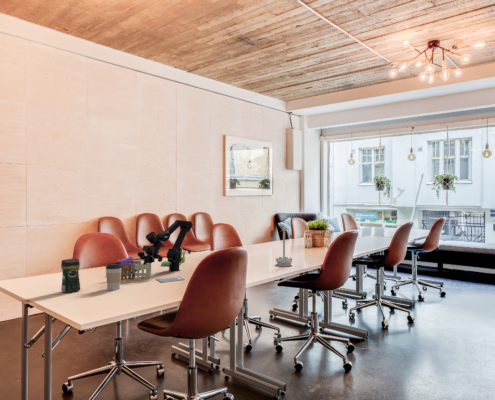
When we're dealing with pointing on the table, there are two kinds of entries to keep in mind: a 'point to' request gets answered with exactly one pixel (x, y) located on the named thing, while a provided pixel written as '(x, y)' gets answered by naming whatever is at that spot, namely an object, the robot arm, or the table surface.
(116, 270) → the coffee cup
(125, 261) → the toy sofa
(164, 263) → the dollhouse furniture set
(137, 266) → the sage fence section
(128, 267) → the walnut fence section
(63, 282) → the coffee jar
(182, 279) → the card
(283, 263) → the flag stand
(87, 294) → the table surface
